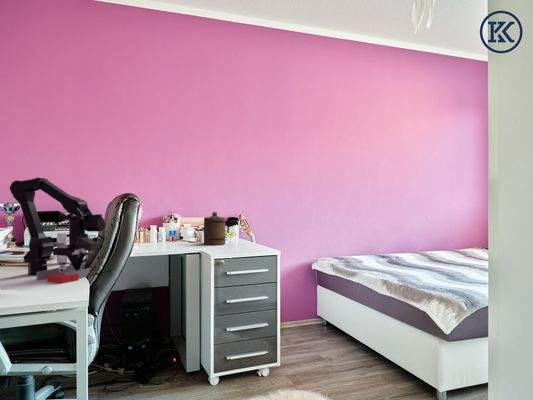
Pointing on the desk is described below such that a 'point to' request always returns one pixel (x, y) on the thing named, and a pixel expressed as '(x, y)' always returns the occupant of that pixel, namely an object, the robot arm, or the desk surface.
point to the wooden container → (214, 230)
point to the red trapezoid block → (62, 276)
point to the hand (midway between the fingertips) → (77, 271)
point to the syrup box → (62, 242)
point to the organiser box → (70, 270)
